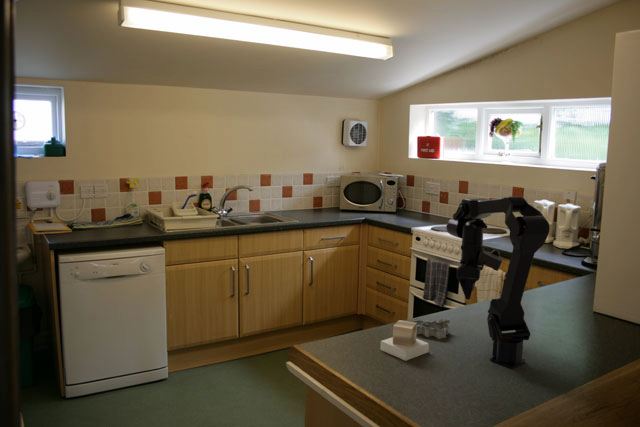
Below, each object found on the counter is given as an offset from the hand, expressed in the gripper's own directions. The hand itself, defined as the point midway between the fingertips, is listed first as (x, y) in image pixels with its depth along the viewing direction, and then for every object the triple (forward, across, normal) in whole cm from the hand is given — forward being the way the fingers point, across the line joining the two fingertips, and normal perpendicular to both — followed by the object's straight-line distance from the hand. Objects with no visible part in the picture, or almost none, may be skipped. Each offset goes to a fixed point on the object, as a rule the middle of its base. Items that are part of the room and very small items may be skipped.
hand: (469, 294), depth 155 cm
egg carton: (+12, -3, +11) cm, 17 cm away
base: (+12, -19, +15) cm, 27 cm away
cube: (+10, -19, +15) cm, 26 cm away
